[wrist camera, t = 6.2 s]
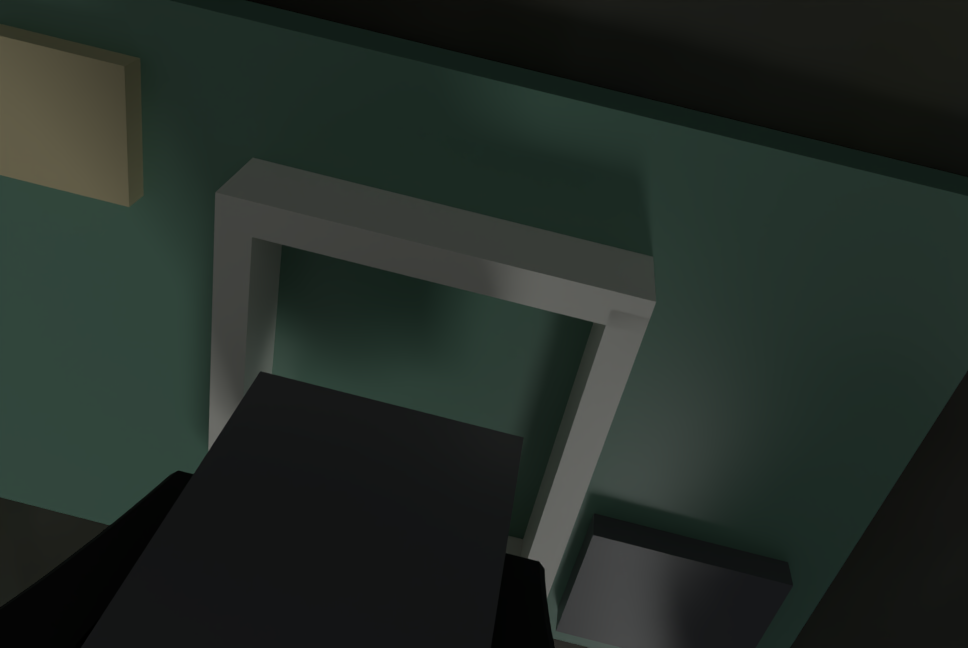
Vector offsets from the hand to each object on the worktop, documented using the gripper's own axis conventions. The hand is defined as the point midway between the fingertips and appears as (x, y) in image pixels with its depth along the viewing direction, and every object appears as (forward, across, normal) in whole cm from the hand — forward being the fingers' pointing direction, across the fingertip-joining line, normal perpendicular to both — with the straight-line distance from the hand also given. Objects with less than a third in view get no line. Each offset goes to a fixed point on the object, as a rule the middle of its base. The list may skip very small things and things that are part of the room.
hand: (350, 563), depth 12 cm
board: (+5, 0, 0) cm, 5 cm away
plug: (+2, 0, 0) cm, 2 cm away
